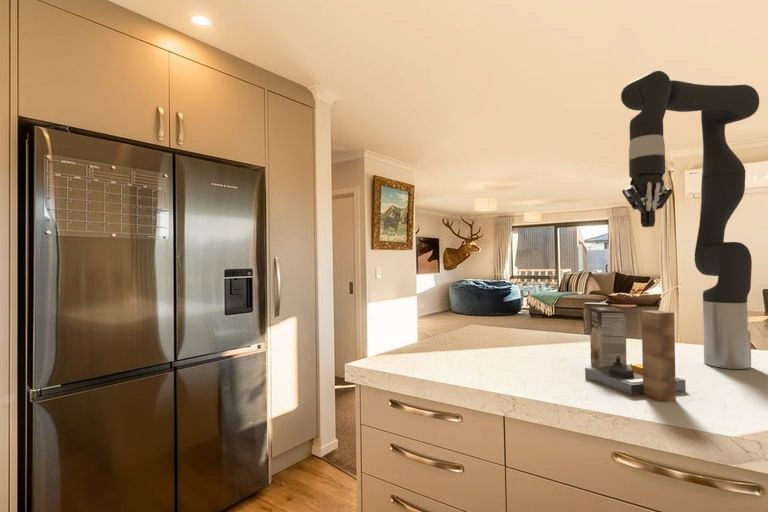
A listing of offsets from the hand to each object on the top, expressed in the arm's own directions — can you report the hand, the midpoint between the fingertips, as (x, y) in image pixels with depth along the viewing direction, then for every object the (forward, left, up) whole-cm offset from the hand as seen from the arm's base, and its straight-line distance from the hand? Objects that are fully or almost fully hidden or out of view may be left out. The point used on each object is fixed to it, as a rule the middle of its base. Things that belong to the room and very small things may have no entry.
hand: (647, 226), depth 100 cm
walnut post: (+11, +13, -37) cm, 41 cm away
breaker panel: (+9, +4, -38) cm, 39 cm away
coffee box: (+5, -8, -37) cm, 38 cm away
